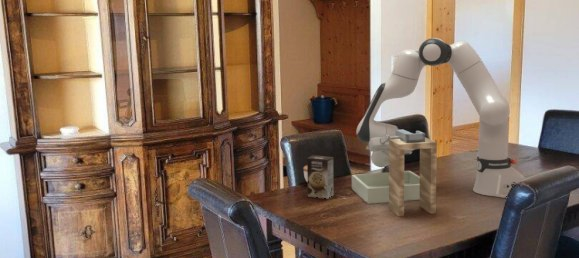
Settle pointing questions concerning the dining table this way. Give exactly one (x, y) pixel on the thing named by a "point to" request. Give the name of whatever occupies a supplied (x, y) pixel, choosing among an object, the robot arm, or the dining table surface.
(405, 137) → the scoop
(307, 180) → the lidded jar
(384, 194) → the pale green tray
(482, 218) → the dining table surface
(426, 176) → the birch stand
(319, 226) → the dining table surface
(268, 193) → the dining table surface
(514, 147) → the dining table surface
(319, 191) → the cookie box
